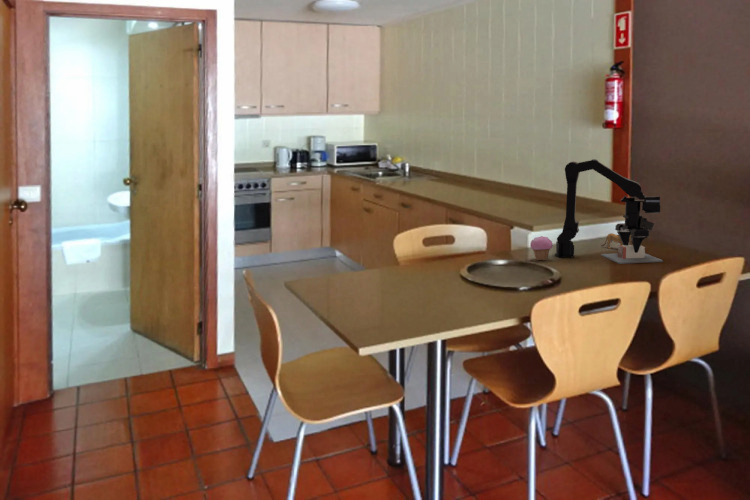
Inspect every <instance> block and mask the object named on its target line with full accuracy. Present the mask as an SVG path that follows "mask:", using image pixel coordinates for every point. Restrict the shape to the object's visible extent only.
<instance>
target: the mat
mask: <svg viewBox="0 0 750 500" xmlns="http://www.w3.org/2000/svg"><path fill="white" fill-rule="evenodd" d="M600 256H601V257H603V258H605V259H607V260H610V261H612V262H614V263H616V264H618V265H619V264H620V265H621V264H622V265H623V264H641V263H643V264H644V263H645V264H646V263H663V262H664V260H663V259H661V258H658V257H655V256H652V255H650V254H648V253H646V252H645V256H644V258H626V259H622V258H620V257H618V252H616V253H601V254H600Z"/></svg>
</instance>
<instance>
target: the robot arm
mask: <svg viewBox="0 0 750 500" xmlns="http://www.w3.org/2000/svg"><path fill="white" fill-rule="evenodd" d="M592 170H593V171H595V173H598V174H600V175H601V176H603V177H605V178H606V179H608V181H611V182H612V183H613V184H616V185H617V186H618V187H619V188H620V189H621V190H622V191H624V193H625V194H627V195H624V196H623V197H622V198H621V199H620V202H621V203H624V204H625V207H624V214H623V215H622V217H623V218H624V223H622V222H621V223H620V222H619V223H617V224H615V229H614V230H615V231H616V233H617V235H619V237H620V239H621V241H622V243H623V245H630V242H631V245H633V248H634V252H635V253H638V250H639V248H640V245H641V246H642V242H643V241H644V240H645V239H647V238H648V237H650V232H651V231H653V229H654V225H655V223H654V222H651V221H649V220H648V219H647V217H644V216H643V215H641V211H643V212H644V213H645V214H660V213H661V197H660V195H655V196H646V195H645V193H644V192H643V191H642V186H641V184H640V182H638V181H636V180H632V179H630V178H628V177H625V176H622V175H621V174H619V173H618V172H616V171H614V170H612V169H611V168H609V166H606V165H605V164H603V163H602V162H600V161H599V160H598V159H596V158H595V159H594V158H593V159H590V160H585V161H582V162H581V161H580V162H577V161H570V162H568V163H567V164H566V165H565V167H564V175H565V179H566V180H565V181H566V202H565V203H566V205H565V219H564V223H563V227H562V232H561V233H559V234H558V236H557V238H556V246H555V247H556V248H555V253H554V255H555V256H556V257H558V258H574V257H575V245H574V242H573V241H572V240H573V239H574V238H576V236H577V234H578V233H579V232H580V228H579V224H580V221H579V220H577V218H576V209H577V207H576V206H577V204H576V202H577V188H578V187H577V185H578V182H579V181H578V180H579V177H580V173H582V172H586V171H592ZM627 196H629V197H627ZM641 206H642V207H641ZM641 209H642V210H641ZM630 235H631V236H630ZM630 237H631V241H630V242H629V238H630Z"/></svg>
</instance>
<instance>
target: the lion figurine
mask: <svg viewBox="0 0 750 500" xmlns="http://www.w3.org/2000/svg"><path fill="white" fill-rule="evenodd" d="M630 236H631V235H630ZM630 242H632V241H631V237H630V238H629V243H630ZM611 243H616V244H620V245H623V243H622V241H621V239H620V237H619V235H618V234H616V233H611V232H609V233H608V234H607V236H606V238H605V242H604V243H603V244H601V247H604V246H605V245H606V247H607V248H608V249H610V250H611V249H612V247H611V246H610V245H611Z"/></svg>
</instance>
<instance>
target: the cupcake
mask: <svg viewBox="0 0 750 500" xmlns="http://www.w3.org/2000/svg"><path fill="white" fill-rule="evenodd" d="M529 246H530V248H531V249H532V251H533V254H534V258H535V260H536V261H547V259H549V253H550V250H551V249H552V248H553V242H552V240H551V239H550V238H549V237H547V236H543V235H541V236H538V237H534V238H533V239H532V240H531V241H530V245H529Z"/></svg>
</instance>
